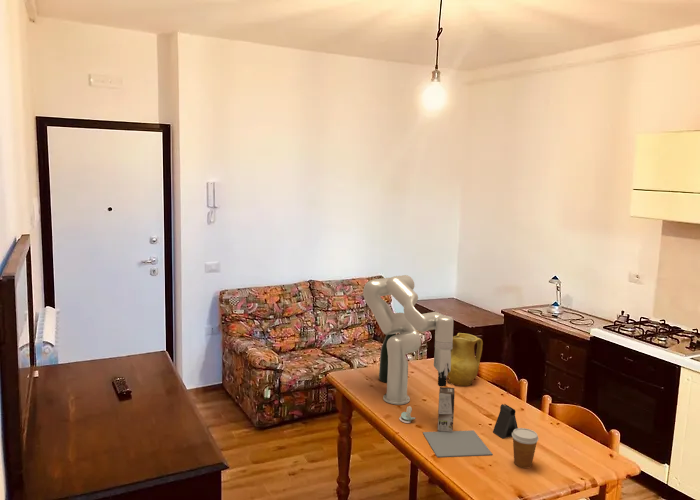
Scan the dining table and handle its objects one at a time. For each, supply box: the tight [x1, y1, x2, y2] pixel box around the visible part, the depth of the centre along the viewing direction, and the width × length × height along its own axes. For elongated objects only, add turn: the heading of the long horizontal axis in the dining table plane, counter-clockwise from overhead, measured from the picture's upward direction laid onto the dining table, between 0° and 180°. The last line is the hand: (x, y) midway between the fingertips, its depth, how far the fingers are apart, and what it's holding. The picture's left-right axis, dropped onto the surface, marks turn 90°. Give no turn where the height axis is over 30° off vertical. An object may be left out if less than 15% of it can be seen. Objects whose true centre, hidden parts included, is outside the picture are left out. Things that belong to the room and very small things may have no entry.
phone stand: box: [492, 403, 519, 439], centre depth 231 cm, size 9×6×12 cm, turn 114°
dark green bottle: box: [378, 333, 397, 384], centre depth 287 cm, size 10×10×33 cm
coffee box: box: [437, 386, 456, 432], centre depth 234 cm, size 9×6×16 cm
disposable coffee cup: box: [511, 427, 539, 469], centre depth 206 cm, size 10×10×12 cm
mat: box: [422, 429, 493, 458], centre depth 221 cm, size 20×22×1 cm
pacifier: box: [398, 405, 416, 424], centre depth 241 cm, size 7×6×6 cm
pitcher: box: [447, 332, 484, 387], centre depth 288 cm, size 17×19×25 cm
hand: (441, 385), depth 241 cm, fingers closed
